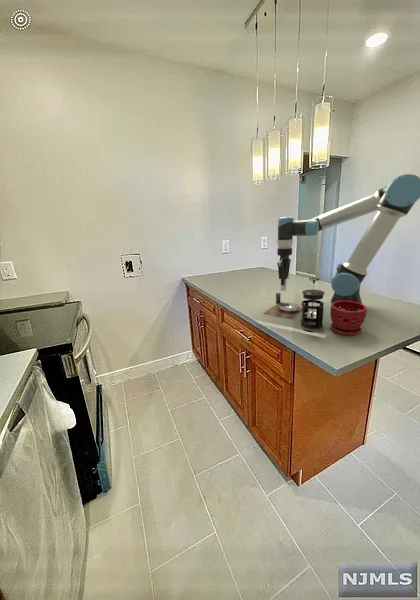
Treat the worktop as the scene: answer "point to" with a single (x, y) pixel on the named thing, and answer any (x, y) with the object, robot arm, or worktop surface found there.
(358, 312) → the plant pot
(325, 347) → the worktop surface
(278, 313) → the board
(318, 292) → the french press
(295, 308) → the silver dish with post
